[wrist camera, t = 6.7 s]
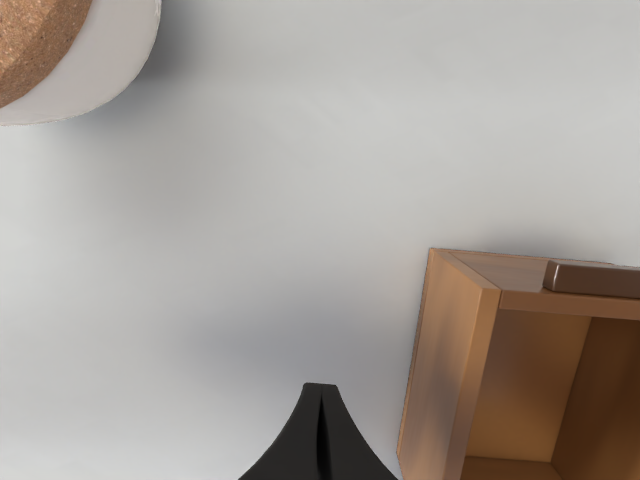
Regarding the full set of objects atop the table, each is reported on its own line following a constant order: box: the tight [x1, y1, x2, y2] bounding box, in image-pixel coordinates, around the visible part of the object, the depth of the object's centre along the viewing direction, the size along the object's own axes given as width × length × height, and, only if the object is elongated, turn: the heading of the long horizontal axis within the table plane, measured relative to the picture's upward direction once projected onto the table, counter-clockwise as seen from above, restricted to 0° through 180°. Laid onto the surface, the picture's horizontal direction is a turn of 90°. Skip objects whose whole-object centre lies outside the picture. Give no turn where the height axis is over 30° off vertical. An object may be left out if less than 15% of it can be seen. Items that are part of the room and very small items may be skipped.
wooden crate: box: [396, 248, 640, 480], centre depth 15 cm, size 14×9×6 cm, turn 175°
